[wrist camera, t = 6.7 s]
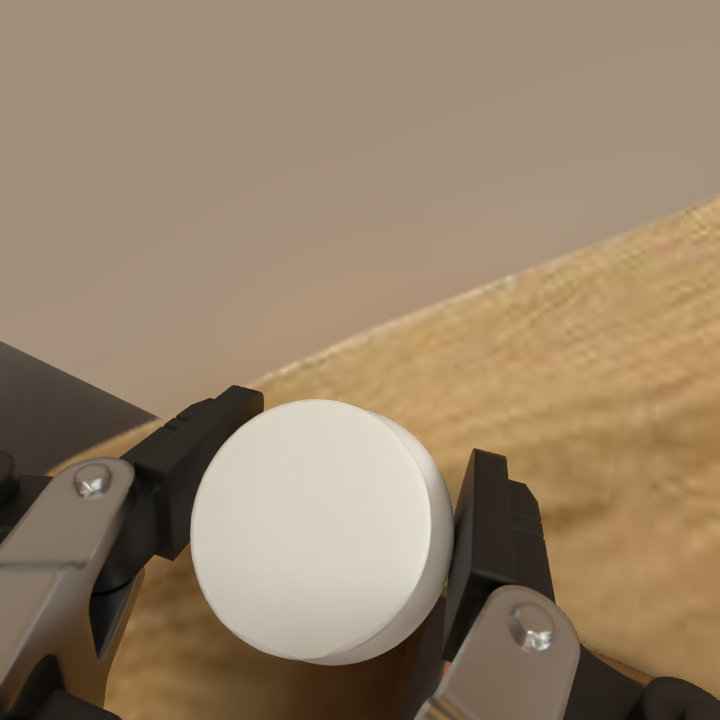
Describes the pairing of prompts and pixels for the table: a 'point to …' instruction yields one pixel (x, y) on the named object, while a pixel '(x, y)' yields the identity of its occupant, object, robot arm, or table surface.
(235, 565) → the supplement bottle
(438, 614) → the grid
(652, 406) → the table surface
